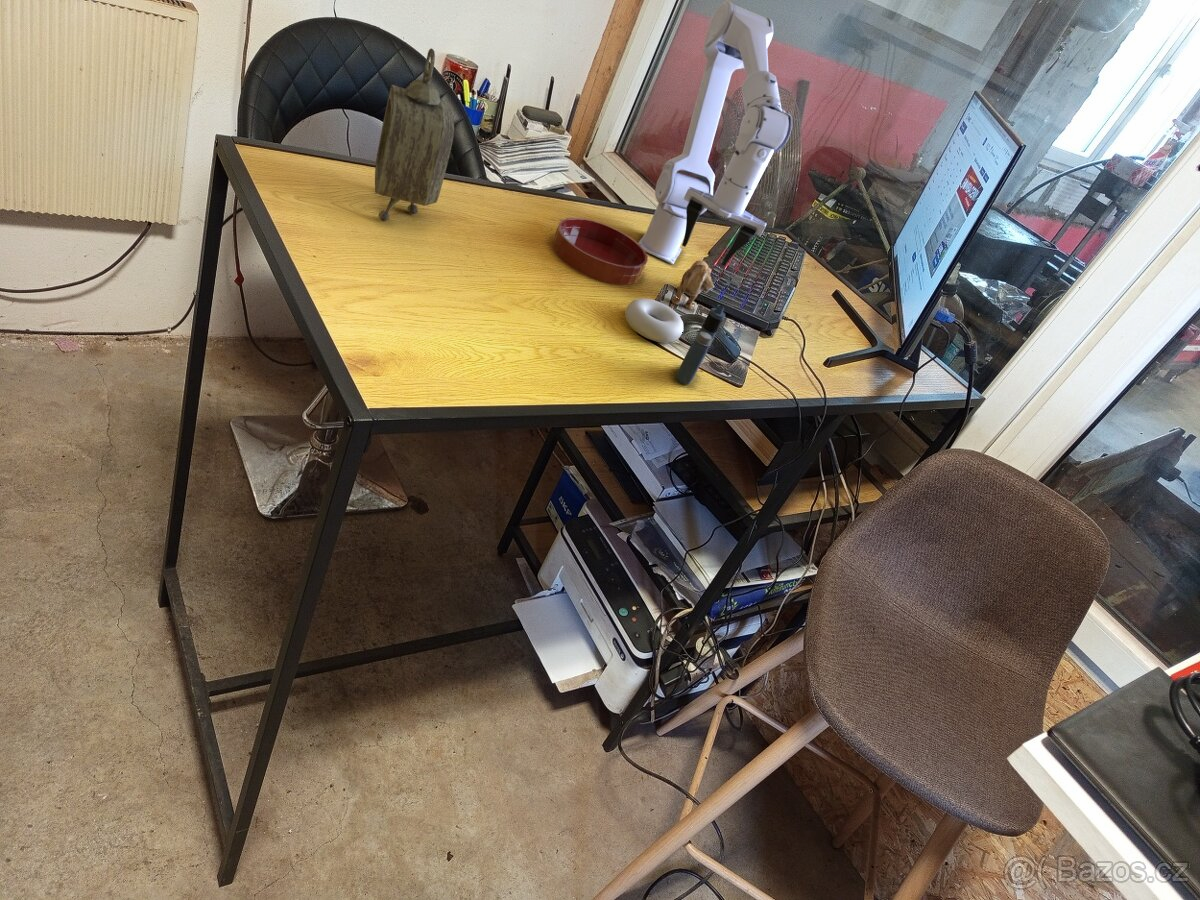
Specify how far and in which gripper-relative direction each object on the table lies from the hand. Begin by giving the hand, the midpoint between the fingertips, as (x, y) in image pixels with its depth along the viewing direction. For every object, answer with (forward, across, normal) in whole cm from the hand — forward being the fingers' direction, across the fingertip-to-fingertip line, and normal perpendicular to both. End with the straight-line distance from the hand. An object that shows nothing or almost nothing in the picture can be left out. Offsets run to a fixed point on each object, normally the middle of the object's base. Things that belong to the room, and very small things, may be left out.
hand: (704, 254), depth 136 cm
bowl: (+9, -17, -2) cm, 19 cm away
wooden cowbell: (+9, -48, -19) cm, 52 cm away
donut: (+9, -3, -18) cm, 21 cm away
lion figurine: (+9, +1, -1) cm, 9 cm away
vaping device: (+9, +5, -28) cm, 30 cm away
